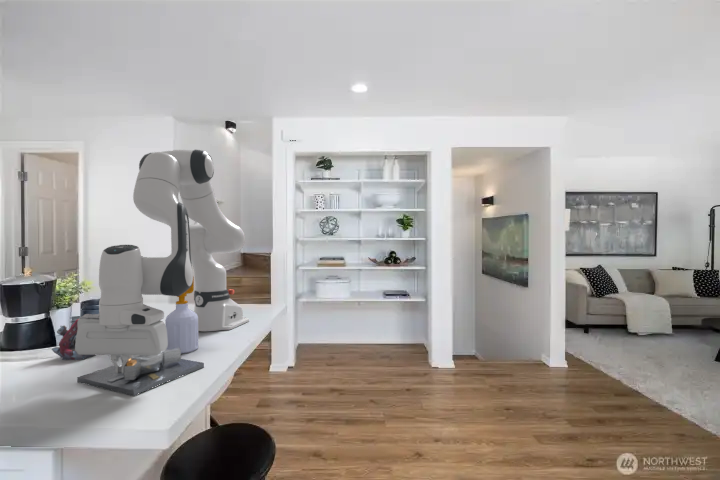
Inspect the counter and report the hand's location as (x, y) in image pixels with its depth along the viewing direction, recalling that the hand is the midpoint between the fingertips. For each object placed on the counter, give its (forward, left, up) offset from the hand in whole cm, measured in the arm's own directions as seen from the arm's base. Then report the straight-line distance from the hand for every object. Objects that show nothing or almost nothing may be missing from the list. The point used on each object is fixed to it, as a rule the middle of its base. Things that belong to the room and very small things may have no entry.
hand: (122, 372), depth 92 cm
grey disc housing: (-5, -1, -1) cm, 6 cm away
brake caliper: (-10, -33, -3) cm, 34 cm away
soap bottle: (-26, -10, -3) cm, 28 cm away
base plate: (-7, -2, -3) cm, 8 cm away
